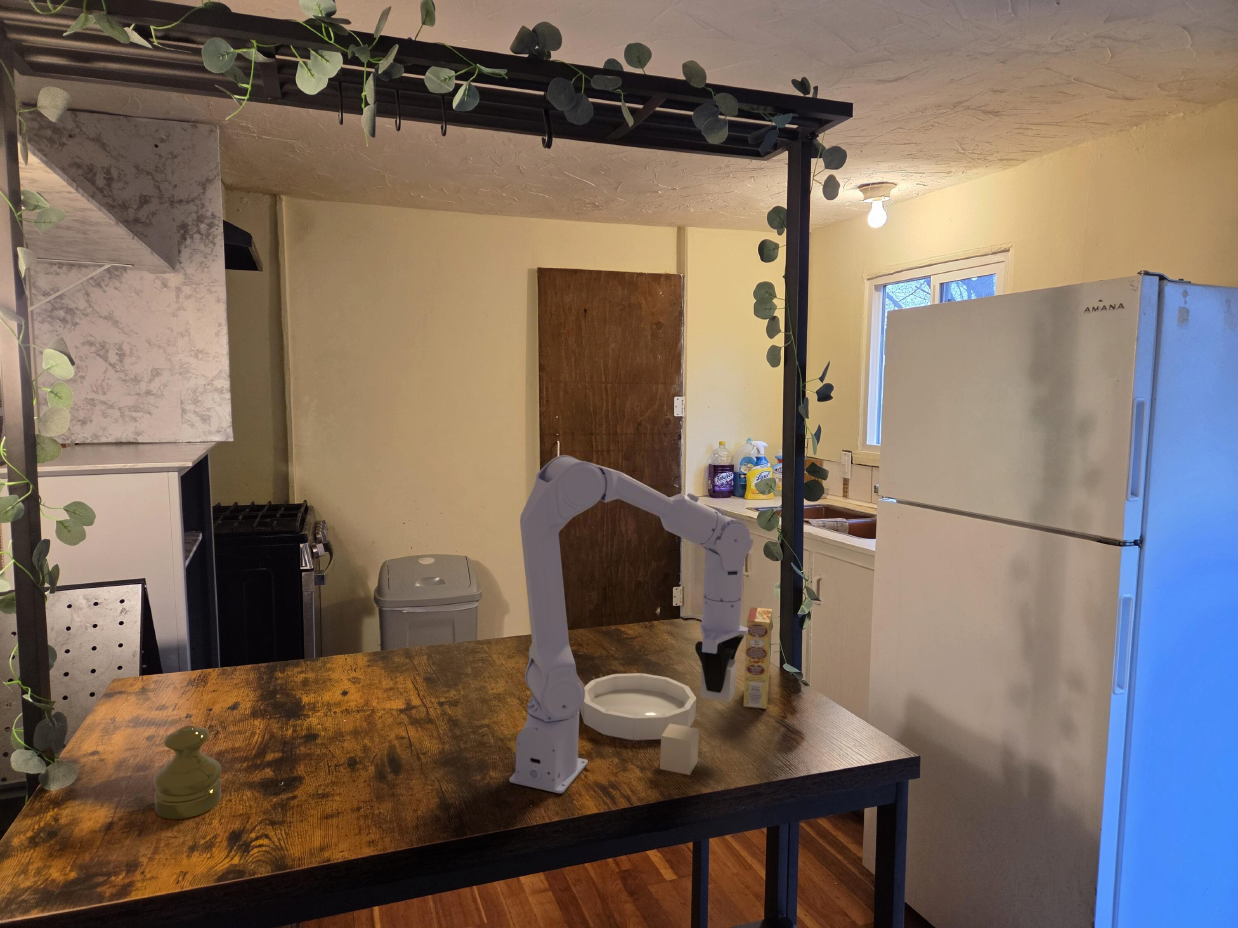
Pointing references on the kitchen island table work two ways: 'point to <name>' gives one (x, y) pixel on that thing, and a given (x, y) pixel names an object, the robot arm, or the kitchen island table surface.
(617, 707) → the bowl
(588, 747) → the kitchen island table surface
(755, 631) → the candy box
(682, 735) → the cream rectangular block
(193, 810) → the olive green knobbed piece
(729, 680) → the matte stone cube
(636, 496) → the robot arm
